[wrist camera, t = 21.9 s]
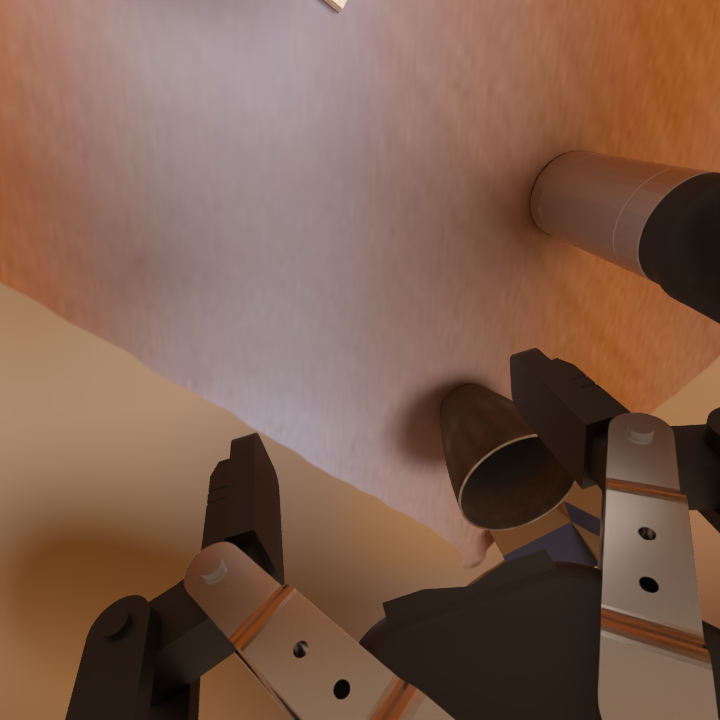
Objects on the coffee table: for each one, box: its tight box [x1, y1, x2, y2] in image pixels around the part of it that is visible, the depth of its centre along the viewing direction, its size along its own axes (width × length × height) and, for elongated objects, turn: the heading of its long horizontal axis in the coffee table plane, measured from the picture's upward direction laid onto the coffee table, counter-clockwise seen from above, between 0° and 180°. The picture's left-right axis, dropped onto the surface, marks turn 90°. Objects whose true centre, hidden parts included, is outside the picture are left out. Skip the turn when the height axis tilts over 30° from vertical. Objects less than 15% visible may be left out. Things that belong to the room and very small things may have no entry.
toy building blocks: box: [489, 482, 602, 567], centre depth 69 cm, size 12×19×25 cm
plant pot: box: [440, 384, 576, 531], centre depth 58 cm, size 15×15×16 cm
